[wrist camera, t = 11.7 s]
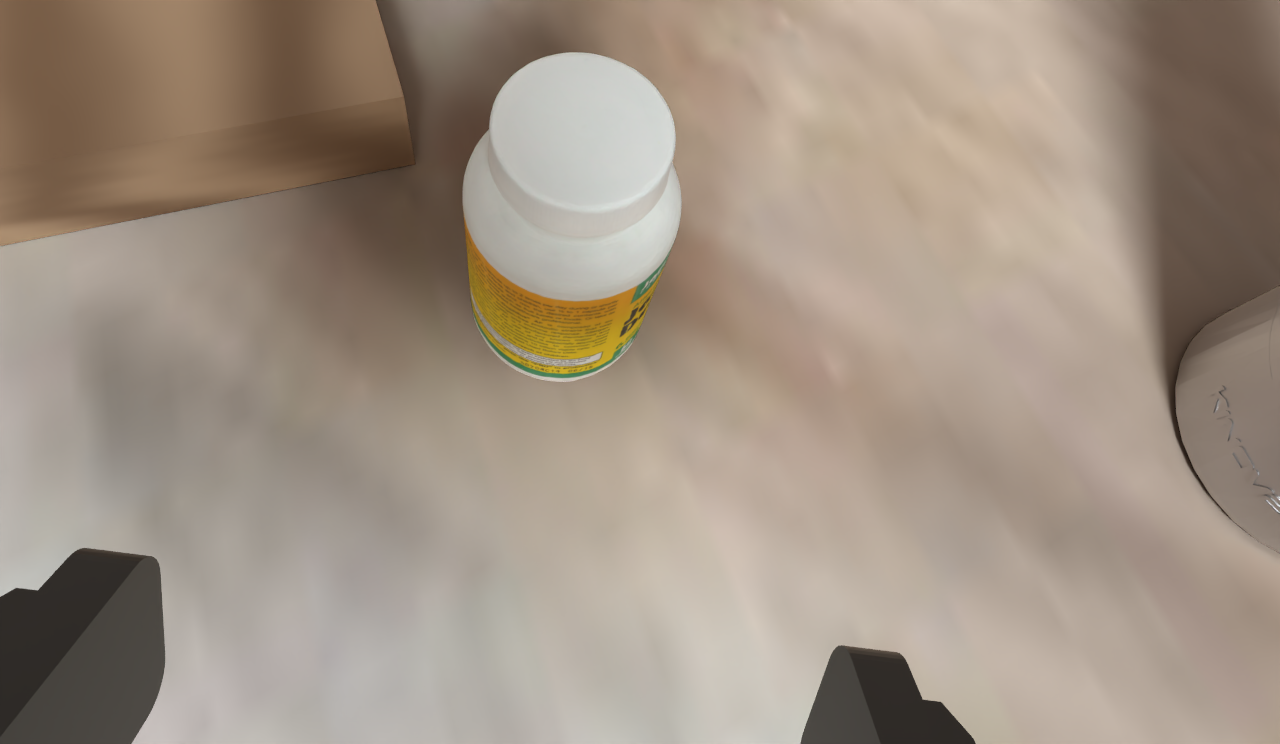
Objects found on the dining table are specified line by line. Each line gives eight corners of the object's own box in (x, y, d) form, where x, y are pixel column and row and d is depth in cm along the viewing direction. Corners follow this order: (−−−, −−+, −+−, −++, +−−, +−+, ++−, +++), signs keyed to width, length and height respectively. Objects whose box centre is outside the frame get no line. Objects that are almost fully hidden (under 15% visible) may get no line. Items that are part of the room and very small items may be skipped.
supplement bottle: (486, 217, 28) (480, 0, 19) (650, 245, 29) (718, 46, 20) (456, 372, 26) (433, 212, 17) (631, 400, 27) (696, 258, 18)
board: (334, -115, 32) (314, -208, 28) (415, 164, 28) (404, 96, 25) (-253, -46, 27) (-356, -145, 24) (-238, 292, 24) (-354, 231, 21)
